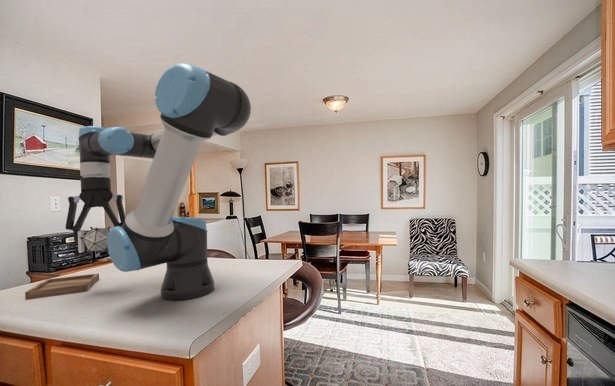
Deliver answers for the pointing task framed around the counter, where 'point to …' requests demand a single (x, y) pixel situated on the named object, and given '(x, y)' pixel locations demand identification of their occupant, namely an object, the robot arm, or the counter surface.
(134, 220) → the robot arm
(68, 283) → the walnut tray
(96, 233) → the game die
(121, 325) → the counter surface
